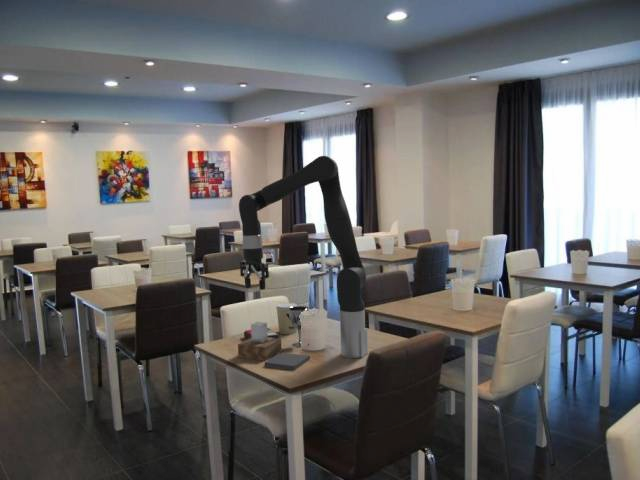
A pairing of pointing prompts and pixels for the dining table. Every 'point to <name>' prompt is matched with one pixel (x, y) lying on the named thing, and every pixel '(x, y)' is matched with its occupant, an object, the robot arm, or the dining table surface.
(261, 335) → the peg
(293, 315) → the wine glass
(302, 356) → the mat
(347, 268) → the robot arm
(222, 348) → the dining table surface
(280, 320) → the coffee cup
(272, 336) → the calculator
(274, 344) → the socket block
